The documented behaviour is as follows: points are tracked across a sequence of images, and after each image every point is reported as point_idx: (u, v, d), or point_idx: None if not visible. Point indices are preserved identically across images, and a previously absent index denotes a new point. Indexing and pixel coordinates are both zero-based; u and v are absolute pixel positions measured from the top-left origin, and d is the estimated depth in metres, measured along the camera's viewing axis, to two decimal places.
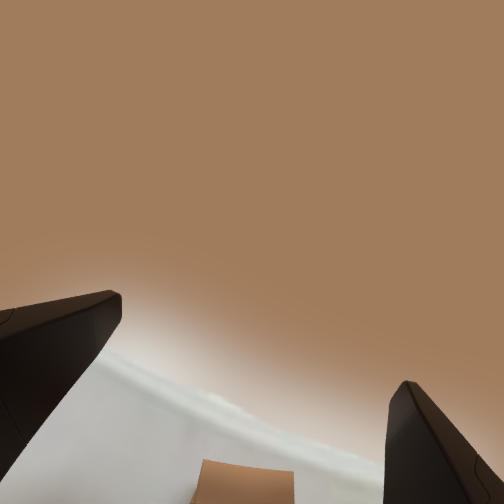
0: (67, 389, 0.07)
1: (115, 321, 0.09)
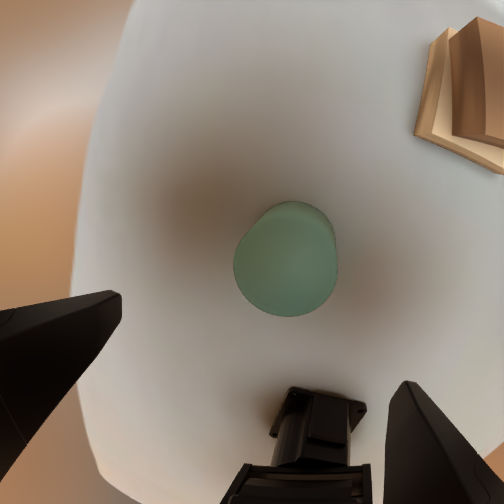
0: (67, 389, 0.07)
1: (115, 321, 0.09)
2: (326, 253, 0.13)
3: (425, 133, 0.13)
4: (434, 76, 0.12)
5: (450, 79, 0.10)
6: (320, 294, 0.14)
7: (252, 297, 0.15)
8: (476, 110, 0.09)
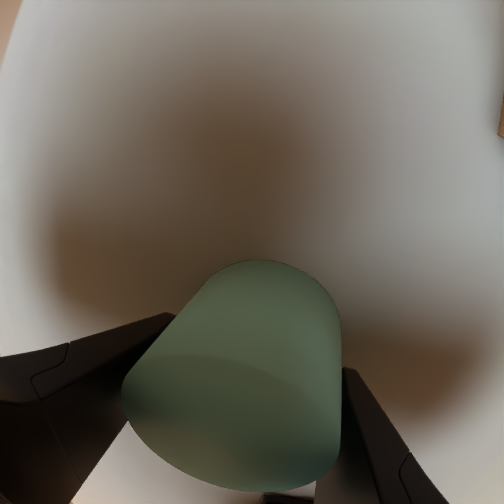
0: (124, 422, 0.07)
1: None
2: (316, 426, 0.05)
3: None
4: None
5: None
6: (299, 476, 0.06)
7: (171, 459, 0.06)
8: None
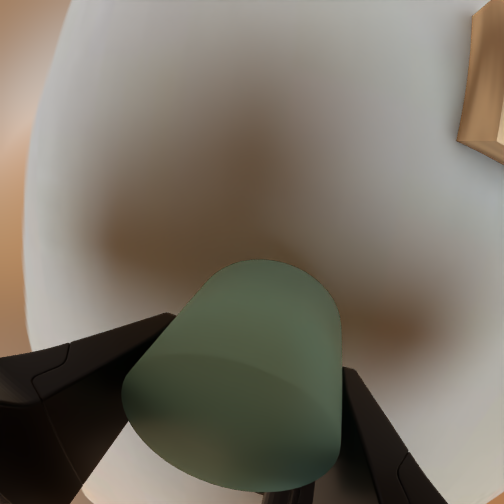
0: (125, 422, 0.07)
1: None
2: (316, 426, 0.05)
3: (482, 140, 0.07)
4: (487, 56, 0.06)
5: None
6: (300, 476, 0.06)
7: (171, 459, 0.06)
8: None
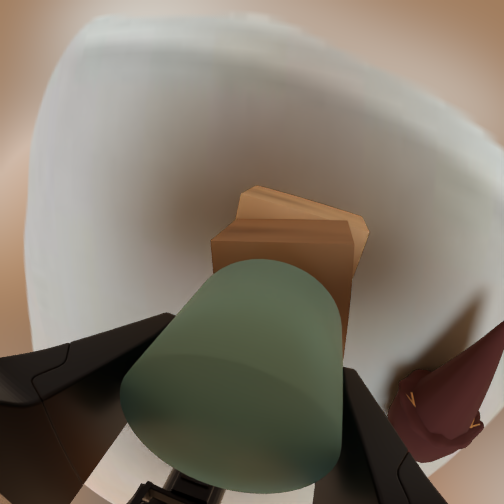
0: (125, 422, 0.07)
1: None
2: (317, 427, 0.05)
3: None
4: None
5: None
6: (300, 478, 0.05)
7: (170, 460, 0.06)
8: None
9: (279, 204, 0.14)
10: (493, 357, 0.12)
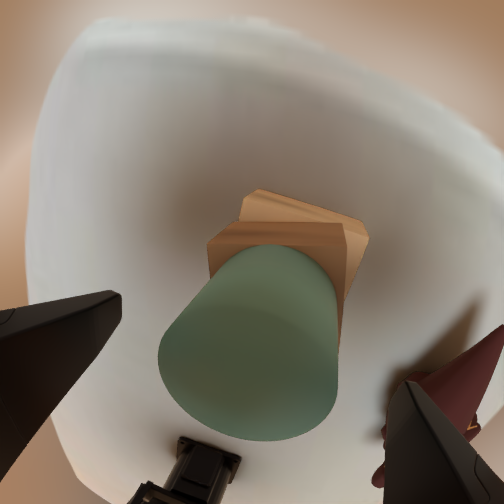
0: (67, 389, 0.07)
1: (115, 321, 0.09)
2: (318, 366, 0.07)
3: None
4: None
5: None
6: (305, 420, 0.07)
7: (195, 412, 0.08)
8: None
9: (281, 208, 0.14)
10: (490, 360, 0.12)
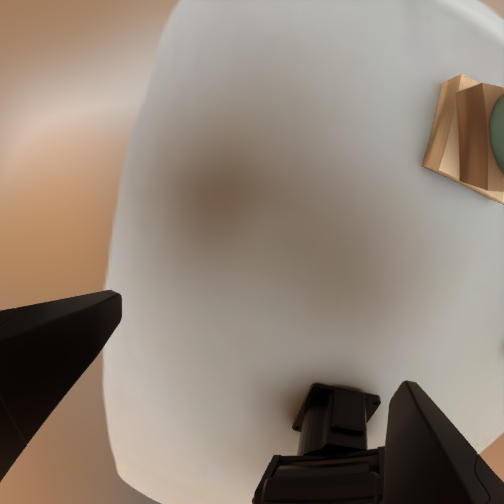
0: (67, 389, 0.07)
1: (115, 321, 0.09)
2: None
3: (433, 168, 0.15)
4: (444, 117, 0.14)
5: None
6: None
7: None
8: (480, 167, 0.11)
9: None
10: None
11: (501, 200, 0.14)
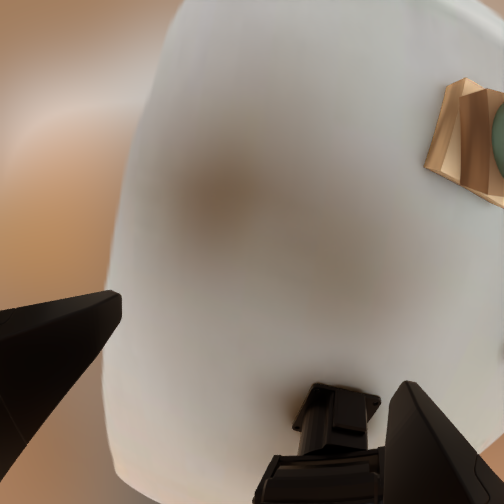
0: (67, 389, 0.07)
1: (115, 321, 0.09)
2: None
3: (434, 169, 0.15)
4: (447, 119, 0.14)
5: None
6: None
7: None
8: (481, 172, 0.11)
9: None
10: None
11: (501, 203, 0.14)
